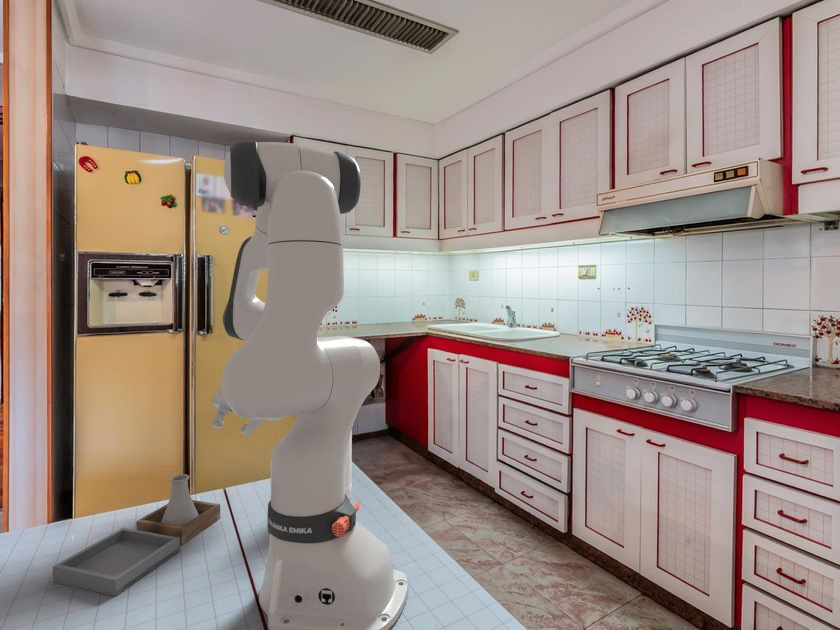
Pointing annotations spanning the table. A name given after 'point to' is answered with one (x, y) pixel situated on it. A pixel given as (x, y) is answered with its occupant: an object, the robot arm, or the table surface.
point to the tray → (116, 561)
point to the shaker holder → (189, 530)
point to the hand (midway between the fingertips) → (229, 430)
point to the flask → (179, 503)
